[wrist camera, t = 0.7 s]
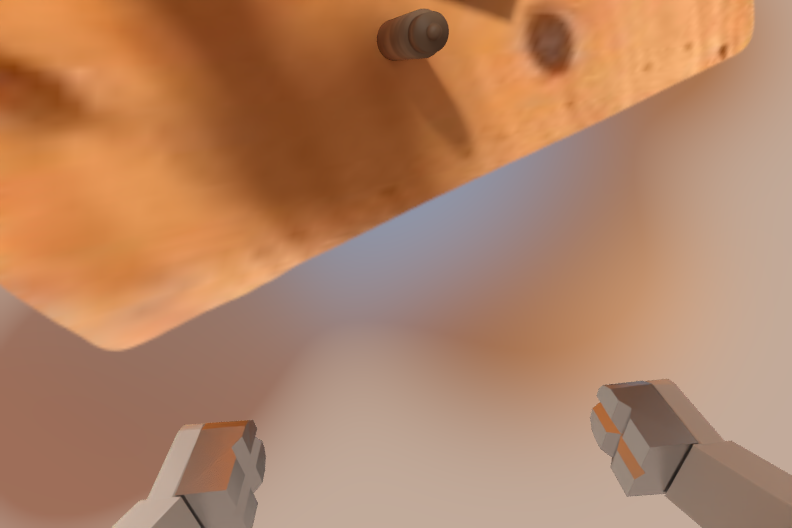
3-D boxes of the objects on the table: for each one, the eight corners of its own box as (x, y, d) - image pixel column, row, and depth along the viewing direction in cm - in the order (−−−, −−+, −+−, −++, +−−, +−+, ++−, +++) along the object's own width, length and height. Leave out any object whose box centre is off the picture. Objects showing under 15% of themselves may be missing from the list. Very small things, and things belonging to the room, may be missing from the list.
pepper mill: (380, 14, 43) (421, -3, 33) (414, 25, 44) (463, 11, 34) (374, 55, 44) (411, 50, 34) (406, 64, 46) (451, 62, 36)
